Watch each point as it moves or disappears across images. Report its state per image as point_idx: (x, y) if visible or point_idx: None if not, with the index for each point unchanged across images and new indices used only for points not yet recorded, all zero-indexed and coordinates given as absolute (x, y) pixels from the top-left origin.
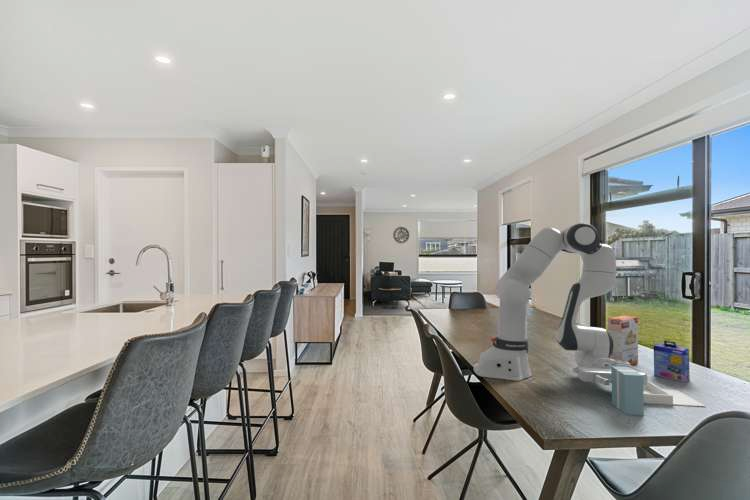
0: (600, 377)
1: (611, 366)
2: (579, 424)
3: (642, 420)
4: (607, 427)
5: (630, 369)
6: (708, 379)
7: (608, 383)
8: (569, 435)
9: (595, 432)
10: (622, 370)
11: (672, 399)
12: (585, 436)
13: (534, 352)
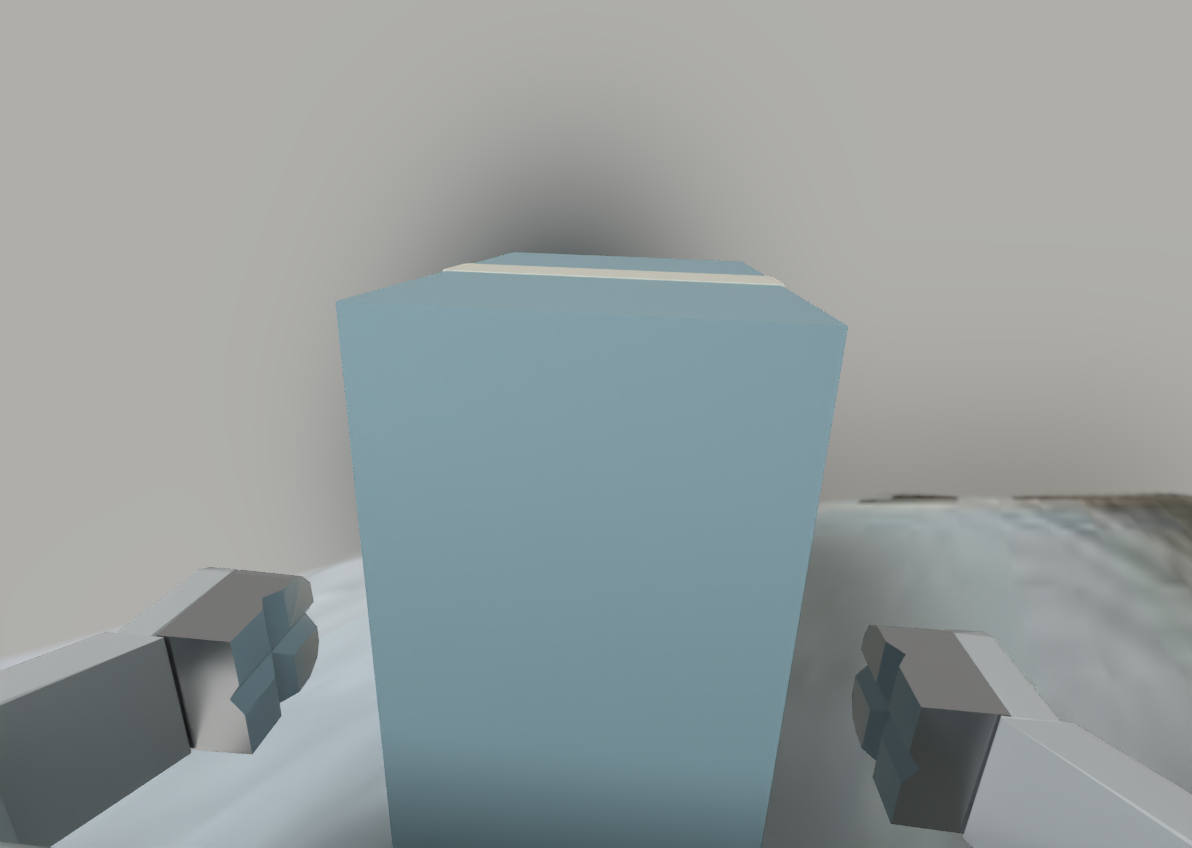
0: (1104, 745)
1: (843, 332)
2: (1098, 579)
3: None
4: (907, 556)
5: (472, 278)
6: None
7: (873, 677)
8: (1115, 509)
9: (981, 524)
10: (686, 276)
11: None
12: (1031, 504)
13: None
